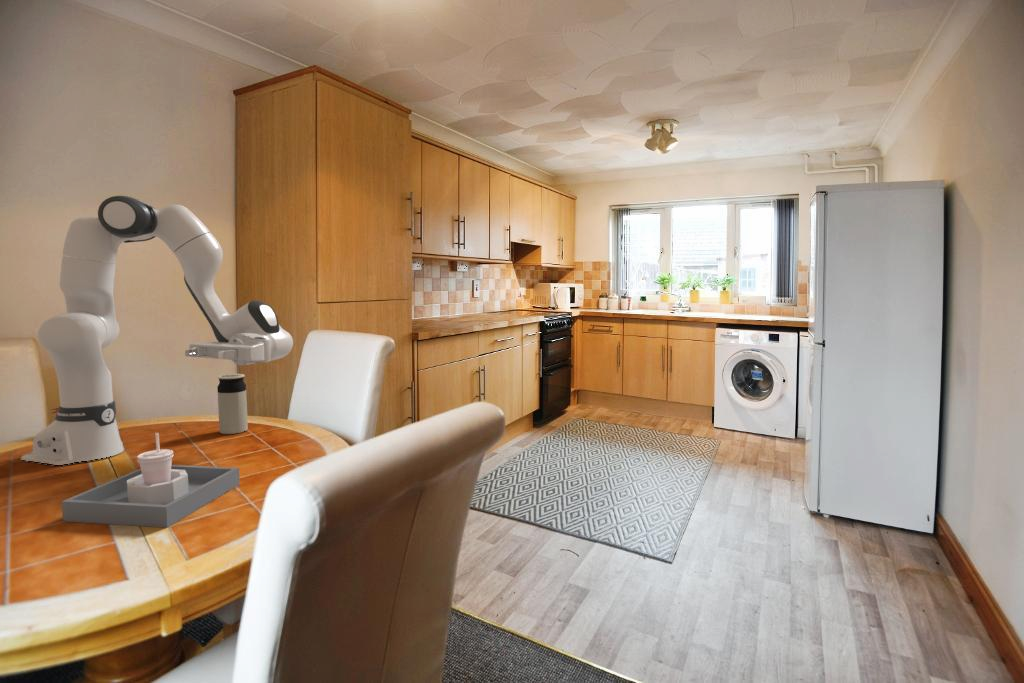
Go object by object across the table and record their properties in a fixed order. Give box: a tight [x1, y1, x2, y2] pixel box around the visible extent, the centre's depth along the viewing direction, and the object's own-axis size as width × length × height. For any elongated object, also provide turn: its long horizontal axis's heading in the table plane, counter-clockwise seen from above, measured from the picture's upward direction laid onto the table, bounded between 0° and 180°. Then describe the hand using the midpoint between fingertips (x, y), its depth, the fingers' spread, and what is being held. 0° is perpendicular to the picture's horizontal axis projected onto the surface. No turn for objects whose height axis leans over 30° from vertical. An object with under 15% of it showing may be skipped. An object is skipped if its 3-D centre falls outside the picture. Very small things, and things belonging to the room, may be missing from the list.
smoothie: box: [136, 432, 174, 485], centre depth 109 cm, size 6×6×14 cm
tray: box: [61, 464, 241, 528], centre depth 110 cm, size 22×22×5 cm
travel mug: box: [216, 373, 249, 435], centre depth 164 cm, size 8×8×18 cm
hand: (201, 354), depth 130 cm, fingers open, 8 cm apart
